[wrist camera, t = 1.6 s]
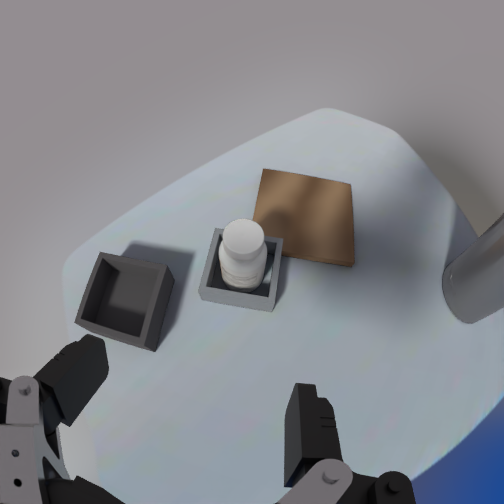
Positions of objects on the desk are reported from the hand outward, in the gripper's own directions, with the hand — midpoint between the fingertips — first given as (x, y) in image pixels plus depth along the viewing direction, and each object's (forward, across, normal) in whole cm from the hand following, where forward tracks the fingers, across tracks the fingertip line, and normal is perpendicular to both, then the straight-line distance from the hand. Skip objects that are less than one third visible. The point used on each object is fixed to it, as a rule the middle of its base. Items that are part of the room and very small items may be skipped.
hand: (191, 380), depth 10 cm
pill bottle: (+20, 0, +3) cm, 20 cm away
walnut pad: (+26, -6, -4) cm, 27 cm away
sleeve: (+20, 0, +3) cm, 20 cm away
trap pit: (+15, +11, +7) cm, 20 cm away
